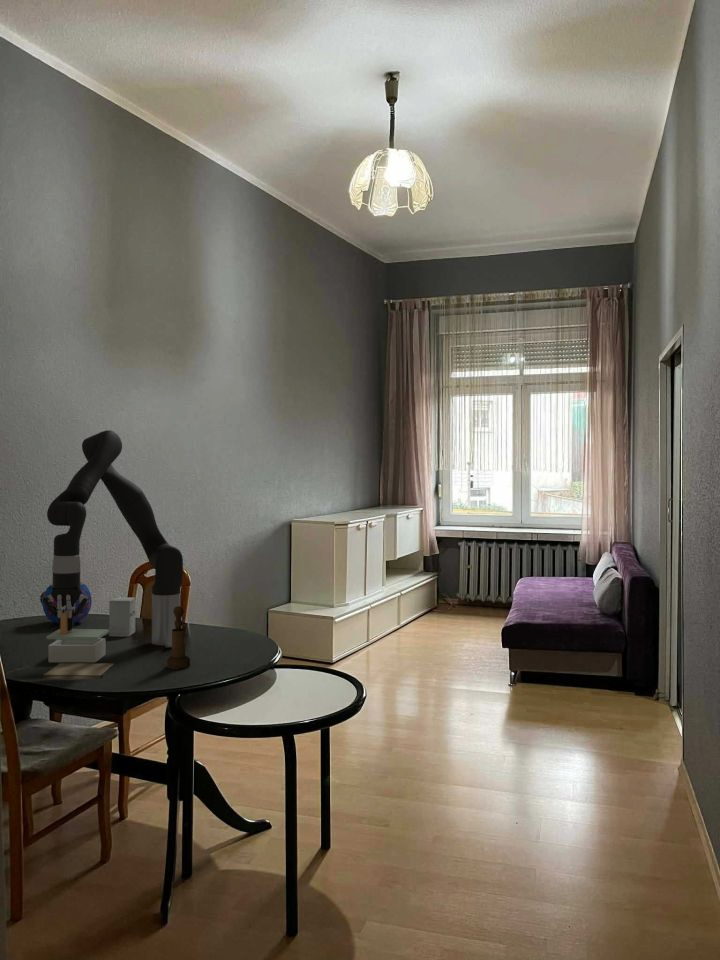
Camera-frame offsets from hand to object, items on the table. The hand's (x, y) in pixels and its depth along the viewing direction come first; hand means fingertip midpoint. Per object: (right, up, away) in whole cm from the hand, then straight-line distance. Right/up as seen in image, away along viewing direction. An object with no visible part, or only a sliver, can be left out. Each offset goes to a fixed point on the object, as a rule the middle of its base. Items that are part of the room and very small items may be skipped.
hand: (66, 630), depth 235 cm
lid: (+4, -2, 0) cm, 4 cm away
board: (+4, -12, 0) cm, 13 cm away
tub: (-1, -12, +13) cm, 18 cm away
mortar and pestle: (+31, -12, +7) cm, 34 cm away
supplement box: (+1, -11, +51) cm, 52 cm away
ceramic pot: (-25, -11, +70) cm, 75 cm away
